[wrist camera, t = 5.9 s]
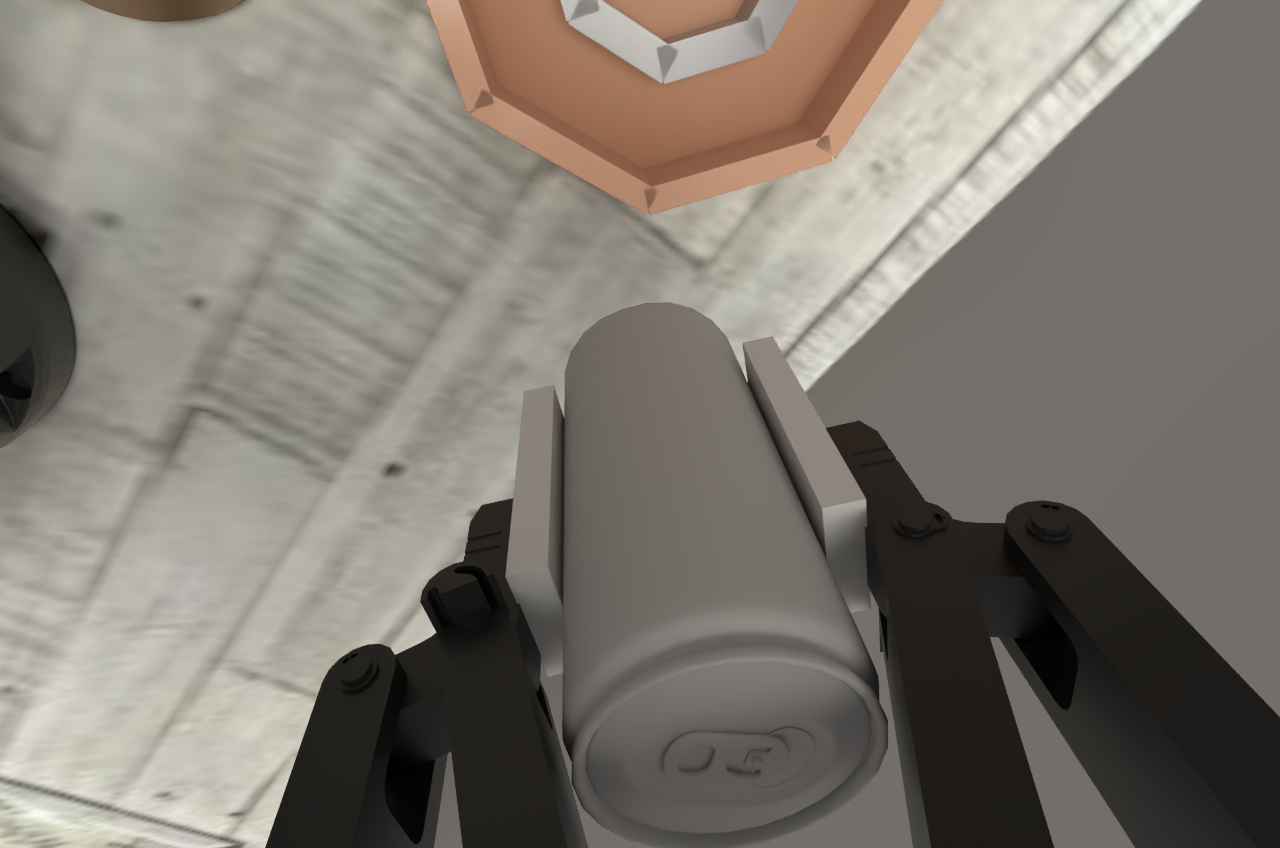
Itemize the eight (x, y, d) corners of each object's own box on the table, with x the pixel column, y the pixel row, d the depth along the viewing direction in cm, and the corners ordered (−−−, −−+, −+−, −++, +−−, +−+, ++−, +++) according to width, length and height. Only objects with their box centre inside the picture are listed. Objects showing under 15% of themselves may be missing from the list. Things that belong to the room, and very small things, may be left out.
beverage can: (709, 452, 22) (833, 859, 12) (553, 433, 21) (539, 855, 11) (753, 307, 19) (956, 662, 9) (577, 279, 19) (591, 636, 8)
